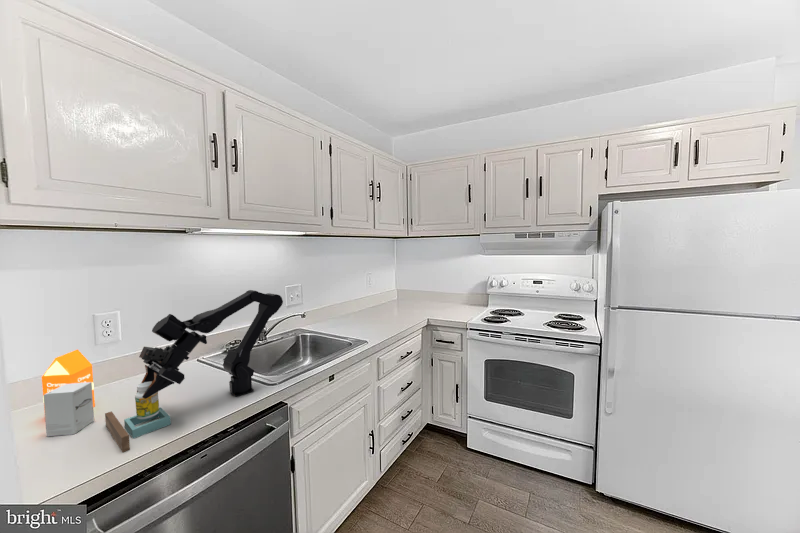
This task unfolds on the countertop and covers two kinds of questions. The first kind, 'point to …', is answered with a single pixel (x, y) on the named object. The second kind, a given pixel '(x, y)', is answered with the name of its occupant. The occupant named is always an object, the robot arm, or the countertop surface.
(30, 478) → the countertop surface
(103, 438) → the countertop surface
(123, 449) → the wall
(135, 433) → the socket block
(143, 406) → the supplement bottle
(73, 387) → the supplement box
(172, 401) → the countertop surface
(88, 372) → the orange juice
